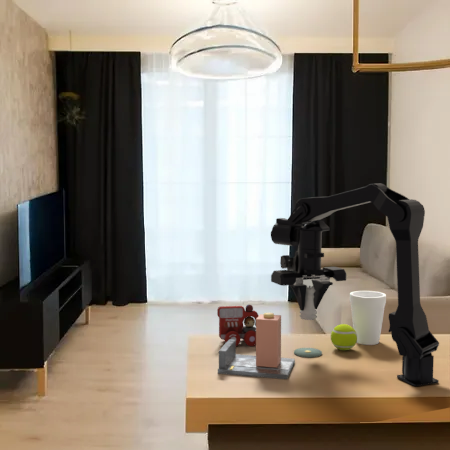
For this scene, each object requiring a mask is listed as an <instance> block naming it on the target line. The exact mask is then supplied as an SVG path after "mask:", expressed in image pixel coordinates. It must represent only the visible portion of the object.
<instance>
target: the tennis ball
mask: <svg viewBox="0 0 450 450" xmlns="http://www.w3.org/2000/svg"><path fill="white" fill-rule="evenodd" d="M330 341H331V343H332V345H333V346H334V347H335V348H336V349H338V350H339V351H349V350H351V349H352V348H355V345H356V344H357V343H356V342H357V334H356V331H355V330H354V328H353V327H352V326H351V325H349V324H346V323H341V324H338V325H336V326H335V327H333V329H332V331H331V334H330Z"/></svg>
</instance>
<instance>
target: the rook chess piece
mask: <svg viewBox="0 0 450 450" xmlns="http://www.w3.org/2000/svg"><path fill="white" fill-rule="evenodd" d="M314 292H315V289H314V286H313V285H312V286H311V285H308V286H307V287H306V297H305V306H304V310H303V311H302V310H299V313H300V314H299V318H300V319H302V320H305V321H314V320H316V319H317V318H318V316H317V313H318V311H317V309H315V307H314Z"/></svg>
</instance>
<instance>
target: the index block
mask: <svg viewBox="0 0 450 450" xmlns="http://www.w3.org/2000/svg"><path fill="white" fill-rule="evenodd" d="M258 315H259V316H258V317H257V319H256V326H255V327H256V345H255V356H256V366H263V367H276V368H277V367H278V366H279V364H280V362H281V358H282V315H280V314H274V313H273V312H263V314H262V313H260V314H258Z"/></svg>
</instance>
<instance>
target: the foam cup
mask: <svg viewBox="0 0 450 450" xmlns="http://www.w3.org/2000/svg"><path fill="white" fill-rule="evenodd" d="M349 303H350V311H351V318H352V319H351V320H352V326H353V327H352V328H354V330H355V331H356V334H357V342H356V344H358V345H365V346H374V345H378V344H379V343H380V340H381V332H382V328H383V327H382V326H383V320H384V312H385V307H386V304H387V294H386V293H384V292H381V291H377V290H376V291H374V290H356V291H354V290H353V291H351V292H350V293H349Z"/></svg>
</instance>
